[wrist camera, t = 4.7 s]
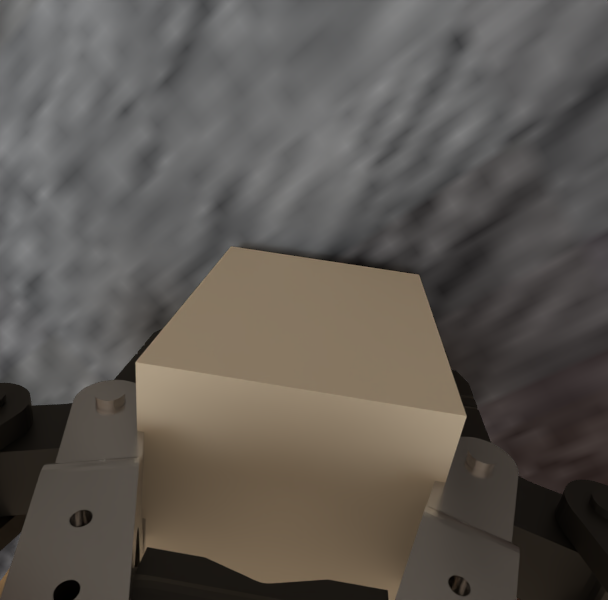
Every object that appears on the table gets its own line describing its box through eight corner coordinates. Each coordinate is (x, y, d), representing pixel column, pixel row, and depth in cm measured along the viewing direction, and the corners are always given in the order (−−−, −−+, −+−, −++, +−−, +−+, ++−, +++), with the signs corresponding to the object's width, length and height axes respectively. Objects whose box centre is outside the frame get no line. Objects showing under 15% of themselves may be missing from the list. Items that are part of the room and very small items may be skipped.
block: (419, 274, 13) (466, 415, 7) (382, 427, 15) (397, 630, 9) (230, 246, 13) (135, 362, 7) (221, 401, 15) (140, 583, 9)
